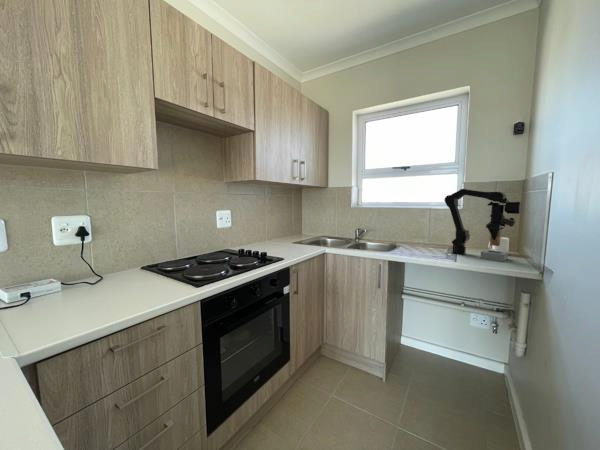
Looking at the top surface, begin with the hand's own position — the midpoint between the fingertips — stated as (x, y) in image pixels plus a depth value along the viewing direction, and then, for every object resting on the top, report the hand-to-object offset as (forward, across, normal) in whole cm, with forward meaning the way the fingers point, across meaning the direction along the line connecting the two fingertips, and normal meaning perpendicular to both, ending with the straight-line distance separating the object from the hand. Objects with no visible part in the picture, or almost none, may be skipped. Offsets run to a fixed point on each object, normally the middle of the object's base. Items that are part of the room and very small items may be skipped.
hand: (495, 239), depth 146 cm
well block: (+12, 0, 0) cm, 12 cm away
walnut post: (+4, 0, 0) cm, 4 cm away
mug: (+12, +19, +2) cm, 23 cm away
